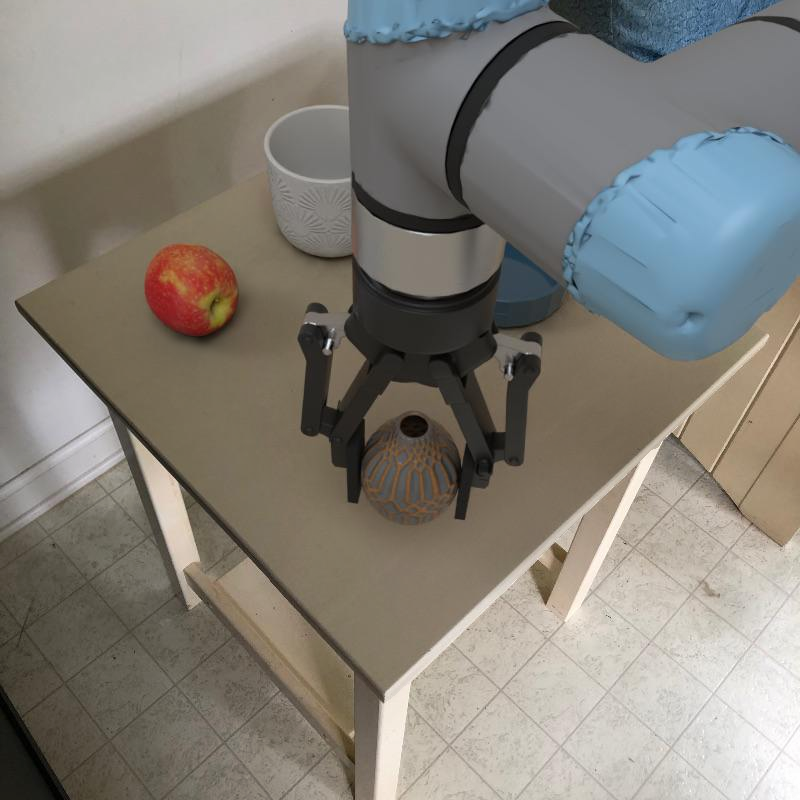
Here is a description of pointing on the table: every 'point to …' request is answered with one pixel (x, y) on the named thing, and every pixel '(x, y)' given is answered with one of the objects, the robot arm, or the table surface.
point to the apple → (191, 289)
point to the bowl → (524, 291)
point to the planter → (312, 178)
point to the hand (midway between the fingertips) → (408, 494)
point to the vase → (410, 469)
